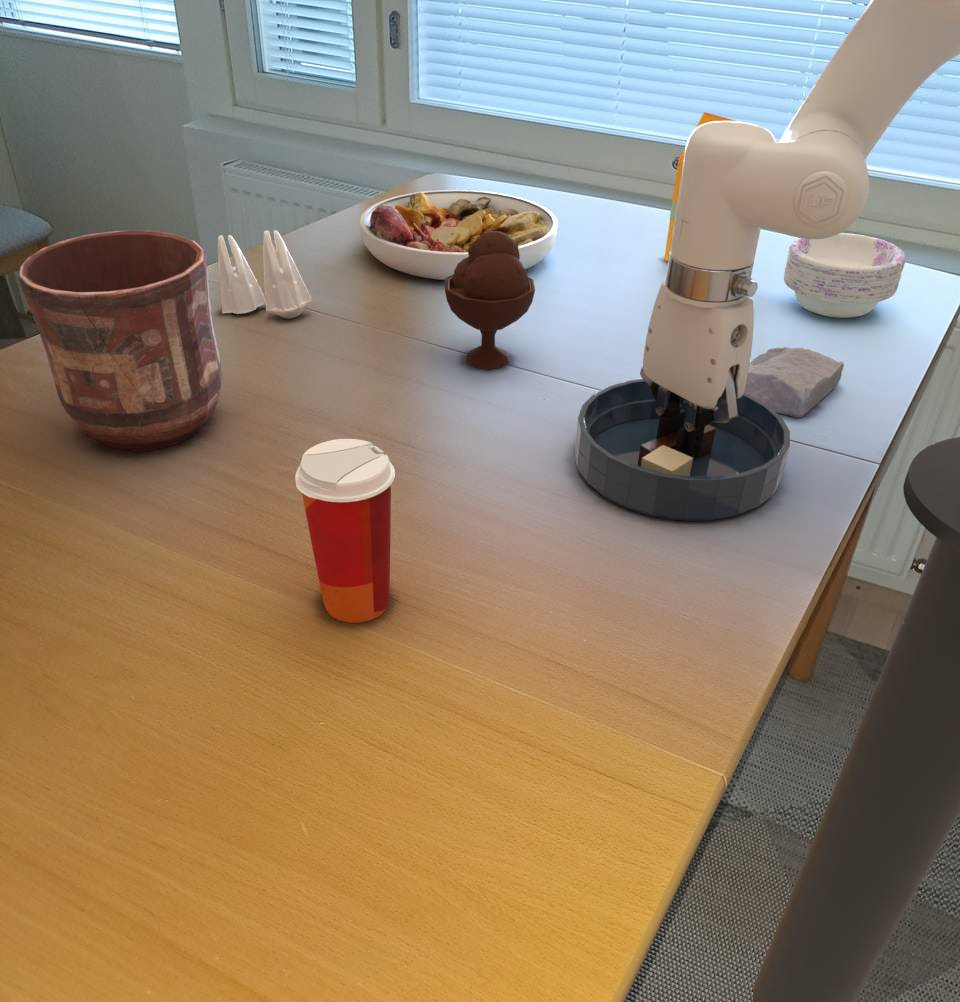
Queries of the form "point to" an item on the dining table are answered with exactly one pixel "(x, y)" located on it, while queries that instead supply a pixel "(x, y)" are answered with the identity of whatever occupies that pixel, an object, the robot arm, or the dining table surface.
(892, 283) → the paper bowls
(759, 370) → the stone block
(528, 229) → the bowl
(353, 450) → the paper cup
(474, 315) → the ice cream bowl
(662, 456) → the block
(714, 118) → the orange juice
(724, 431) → the bowl
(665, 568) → the dining table surface
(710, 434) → the brown wooden stick
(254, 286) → the shaker set
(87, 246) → the pottery
